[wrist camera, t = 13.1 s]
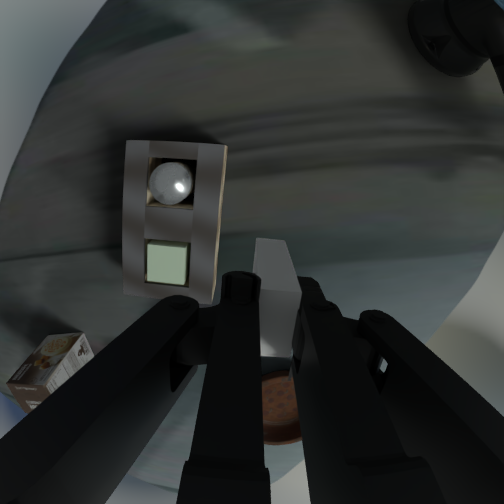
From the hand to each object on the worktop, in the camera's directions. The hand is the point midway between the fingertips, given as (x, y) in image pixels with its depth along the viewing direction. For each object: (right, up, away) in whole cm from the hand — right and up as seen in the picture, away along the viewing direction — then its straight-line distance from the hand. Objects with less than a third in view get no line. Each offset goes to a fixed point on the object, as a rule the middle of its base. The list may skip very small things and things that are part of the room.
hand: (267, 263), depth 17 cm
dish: (+4, -26, +38) cm, 47 cm away
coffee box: (-34, -17, +34) cm, 51 cm away
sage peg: (-12, +1, +29) cm, 31 cm away
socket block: (-11, +6, +28) cm, 31 cm away
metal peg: (-11, +11, +26) cm, 30 cm away
